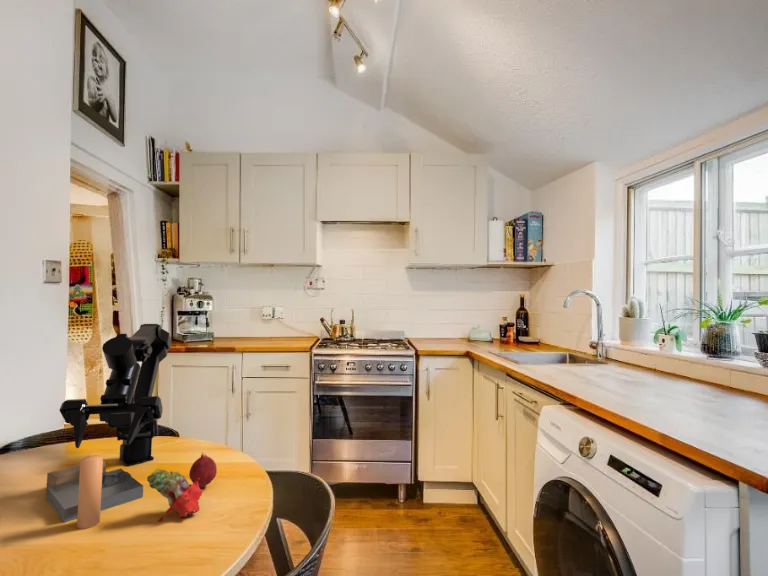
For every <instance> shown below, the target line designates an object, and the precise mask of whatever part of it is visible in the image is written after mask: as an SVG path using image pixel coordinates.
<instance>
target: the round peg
mask: <svg viewBox="0 0 768 576" xmlns="http://www.w3.org/2000/svg"><path fill="white" fill-rule="evenodd" d="M79 461H80V462H79V464H80V478H79V496H78V515H77V518H76V528H77V529H79V530H85V529H90V528H93V527H95V526H97V525H98V524H100V522H101V511H100V509H101V490H102V470H103V462H104V455H103V454H92V455H87V456H86V455H85V456H83V457H82V458H80V459H79Z"/></svg>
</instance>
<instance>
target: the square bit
mask: <svg viewBox="0 0 768 576" xmlns="http://www.w3.org/2000/svg"><path fill="white" fill-rule="evenodd" d="M103 472H107V462H105V461H103V470H102V473H103ZM46 476H47V477H46V493H47V487H51V486H55V485H59V484H62V483H66V482H70V481H74V480H78V479H79V478H80V463H77V464H74V465H71V466H67V467H63V468H59V469H56V470H53V471H50V472H47V475H46Z"/></svg>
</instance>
